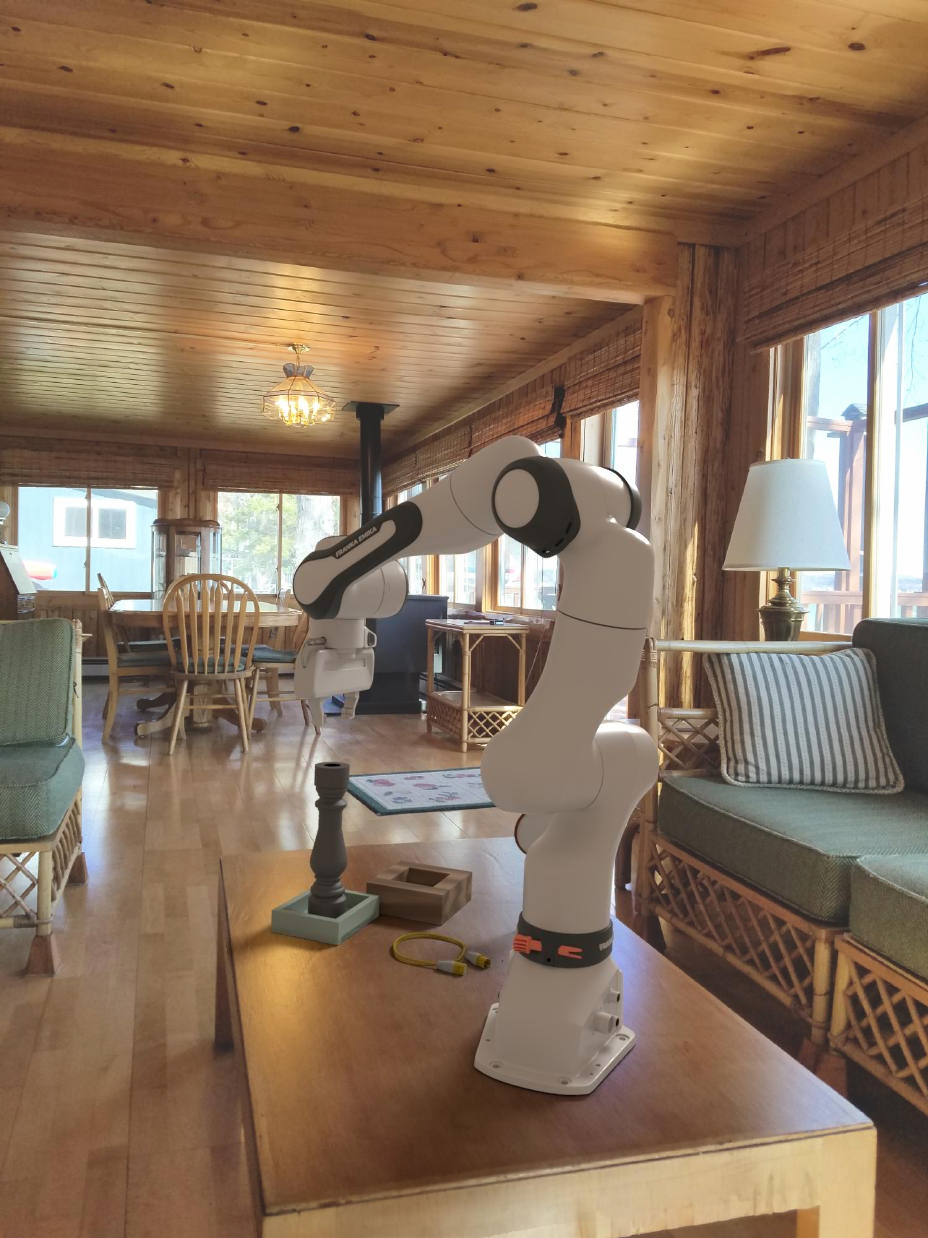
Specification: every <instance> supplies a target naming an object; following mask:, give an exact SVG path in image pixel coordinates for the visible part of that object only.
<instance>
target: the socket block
mask: <svg viewBox="0 0 928 1238" xmlns="http://www.w3.org/2000/svg"><path fill="white" fill-rule="evenodd" d="M365 888H366V890H365V893H368V894H374V895H379V915H384V916H389V917H394V918H398V919H399V918H400V919H406V920H411V921H417V922H422V923H428V924H433V925H438V926H443V925H444V924H445V923H446V922H447V921H448V920H450V919H451V918H452V917H453V916H454V915H455V914H457V912H459V910H461V909H462V908H463V907H465V906H466V905H467V904H468V903H469V902H471V900H472V893H473V892H472V891H473V871H470V870H469V871H468V870H464V869H463V870H462V869H457V868H452V867H443V866H437V865H431V864H424V863H418V862H414V861H413V862H411V861H406V860H399V861H398V862H397V863H395V864H394V865H392V866H390V867H388V868H387V869H386V870H384V871H382V872H380V873H379V874H377V875H375V877H373V878H371V879H370V880H368V881H366V887H365Z"/></svg>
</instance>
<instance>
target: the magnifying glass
mask: <svg viewBox="0 0 928 1238" xmlns="http://www.w3.org/2000/svg"><path fill="white" fill-rule="evenodd" d="M553 816H554V813H551V814H544V815H529V814H521V815H519V817H518V819H517V820H516V822H515V826H514V828H513V829H514V831H513V837H514V841H515V844H516V846H517V848H518V849H519V851H520V852H522V853H523V854H524V855H526V854H527V851H528V850H529V848H530V847H531V845H532V844H533V843H534V842H535V841H536V840H537V839H538V838H539V837H540V836H541V835H542V834H543V833H544V832H545V830H546V829H547V828H548V826H549V824H550V822H551V820H552V818H553Z"/></svg>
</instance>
